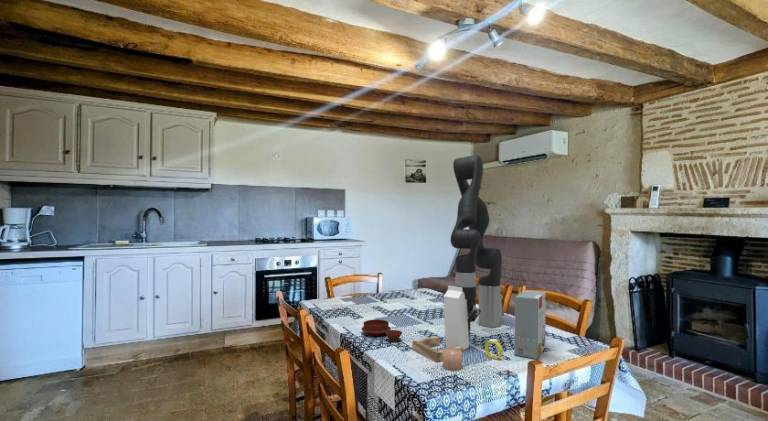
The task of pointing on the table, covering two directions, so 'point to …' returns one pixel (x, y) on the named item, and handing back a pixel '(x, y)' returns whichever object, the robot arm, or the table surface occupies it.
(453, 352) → the peach rounded capsule
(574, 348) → the table surface
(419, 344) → the display frame
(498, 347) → the watch
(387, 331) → the pottery
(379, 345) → the table surface
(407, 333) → the table surface
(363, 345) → the table surface
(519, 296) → the hard drive box
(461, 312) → the milk
